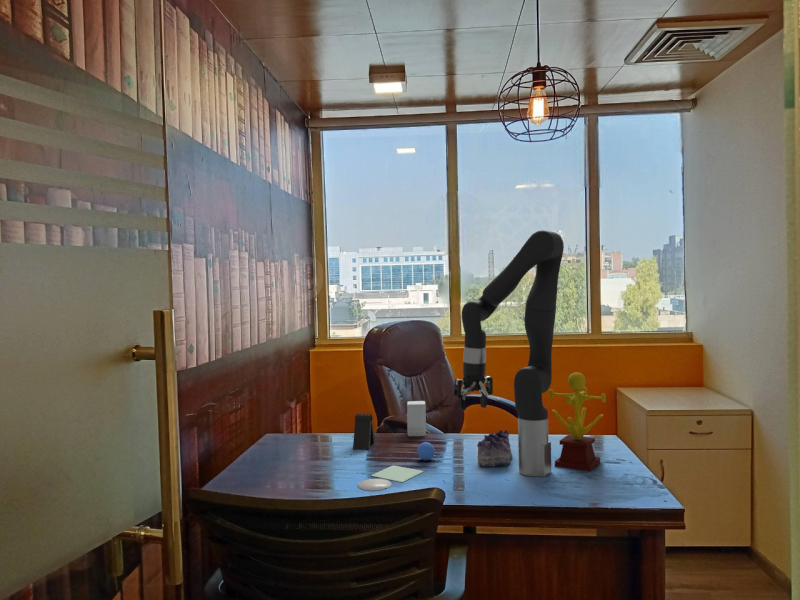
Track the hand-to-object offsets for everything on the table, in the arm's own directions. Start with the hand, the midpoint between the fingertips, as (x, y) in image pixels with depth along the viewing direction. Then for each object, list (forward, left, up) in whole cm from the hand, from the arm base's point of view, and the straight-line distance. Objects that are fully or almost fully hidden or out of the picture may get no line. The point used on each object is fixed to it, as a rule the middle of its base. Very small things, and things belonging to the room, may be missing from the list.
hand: (472, 408), depth 198 cm
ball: (+15, +7, -15) cm, 22 cm away
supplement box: (+37, -21, -18) cm, 46 cm away
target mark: (+15, +24, -18) cm, 33 cm away
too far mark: (+15, +36, -18) cm, 43 cm away
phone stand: (+44, +4, -18) cm, 47 cm away
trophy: (-30, -14, -18) cm, 38 cm away
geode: (-5, -5, -18) cm, 20 cm away
